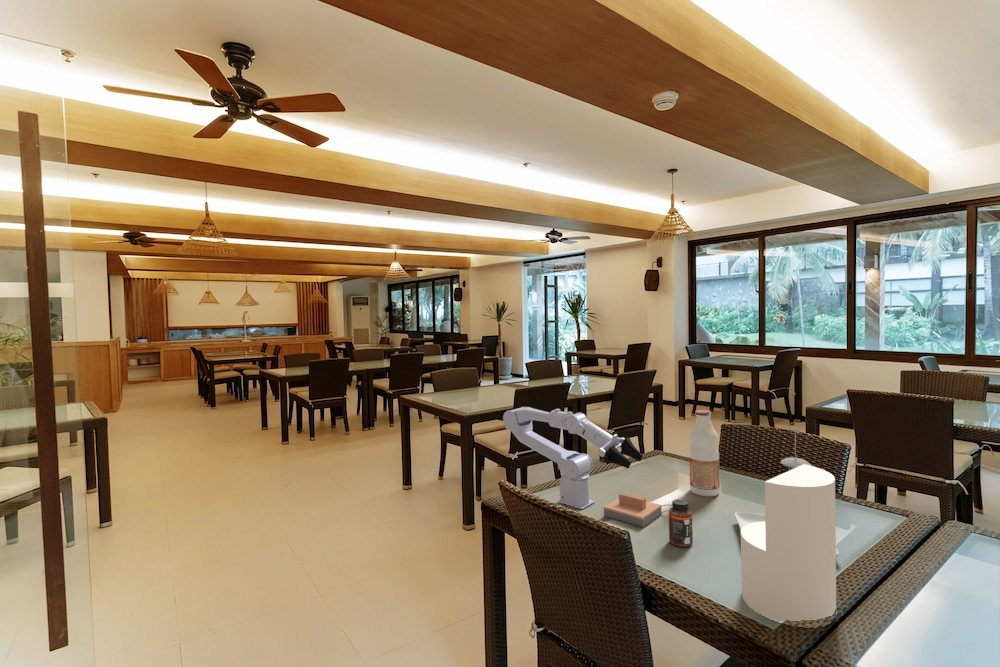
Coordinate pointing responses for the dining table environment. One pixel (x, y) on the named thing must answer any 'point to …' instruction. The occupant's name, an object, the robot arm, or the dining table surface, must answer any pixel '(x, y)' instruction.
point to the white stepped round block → (792, 548)
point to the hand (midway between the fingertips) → (635, 461)
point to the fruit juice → (704, 456)
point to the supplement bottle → (680, 524)
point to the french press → (794, 461)
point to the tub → (632, 518)
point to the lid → (632, 506)
